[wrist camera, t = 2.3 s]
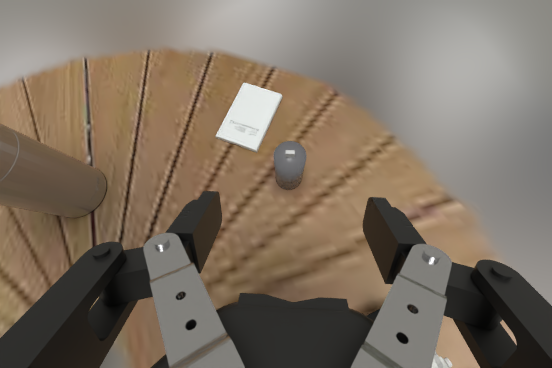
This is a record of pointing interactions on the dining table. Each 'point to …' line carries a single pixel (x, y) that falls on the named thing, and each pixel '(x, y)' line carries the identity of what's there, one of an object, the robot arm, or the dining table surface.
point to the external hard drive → (249, 117)
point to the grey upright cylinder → (289, 164)
